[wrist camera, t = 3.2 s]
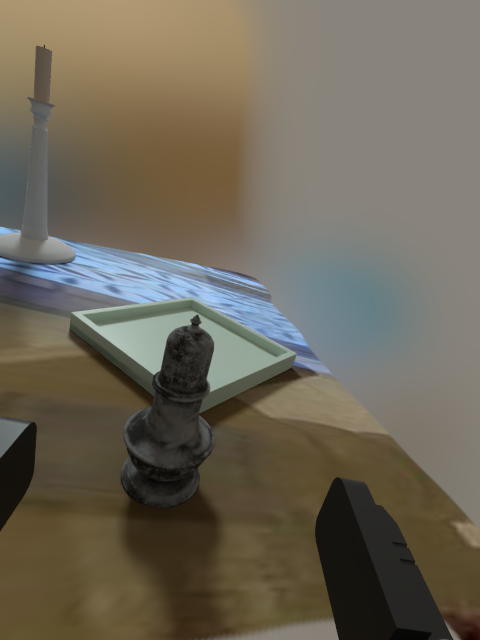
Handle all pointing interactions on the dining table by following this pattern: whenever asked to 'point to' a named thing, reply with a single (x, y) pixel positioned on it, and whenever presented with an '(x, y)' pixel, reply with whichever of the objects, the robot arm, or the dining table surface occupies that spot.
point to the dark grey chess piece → (171, 424)
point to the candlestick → (37, 183)
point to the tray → (151, 335)
